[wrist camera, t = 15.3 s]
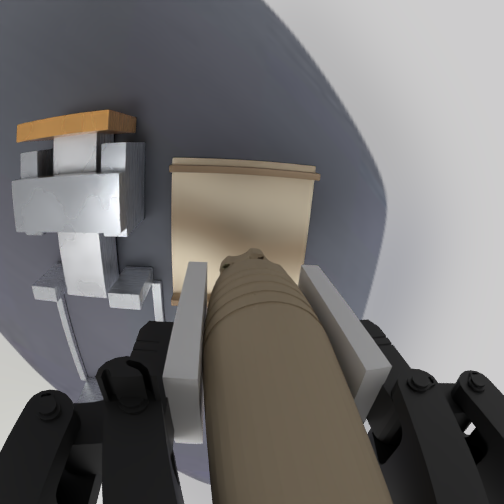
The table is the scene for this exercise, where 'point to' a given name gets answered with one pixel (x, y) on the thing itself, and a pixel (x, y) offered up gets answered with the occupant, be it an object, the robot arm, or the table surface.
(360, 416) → the robot arm
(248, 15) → the table surface
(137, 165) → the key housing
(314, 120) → the table surface
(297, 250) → the tan base plate
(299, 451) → the handle
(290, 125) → the table surface
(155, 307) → the silver rectangular frame
